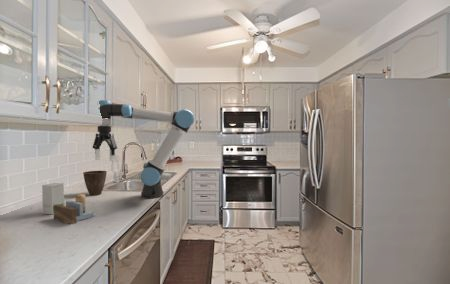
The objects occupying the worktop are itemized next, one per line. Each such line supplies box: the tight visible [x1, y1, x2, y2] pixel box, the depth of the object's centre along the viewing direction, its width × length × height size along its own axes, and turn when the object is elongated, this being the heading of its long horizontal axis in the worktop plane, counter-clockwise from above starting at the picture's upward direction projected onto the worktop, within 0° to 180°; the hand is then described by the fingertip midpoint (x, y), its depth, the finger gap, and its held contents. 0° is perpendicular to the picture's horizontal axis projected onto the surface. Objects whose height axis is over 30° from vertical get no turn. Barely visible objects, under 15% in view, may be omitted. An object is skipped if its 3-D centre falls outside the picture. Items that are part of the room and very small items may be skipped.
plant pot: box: [82, 170, 108, 196], centre depth 182 cm, size 15×15×16 cm
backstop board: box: [53, 204, 78, 225], centre depth 126 cm, size 2×16×7 cm, turn 61°
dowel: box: [74, 193, 86, 213], centre depth 133 cm, size 4×4×11 cm
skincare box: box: [41, 182, 65, 215], centre depth 140 cm, size 8×7×16 cm
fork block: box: [65, 200, 95, 222], centre depth 132 cm, size 10×12×8 cm
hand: (104, 160), depth 159 cm, fingers open, 13 cm apart
